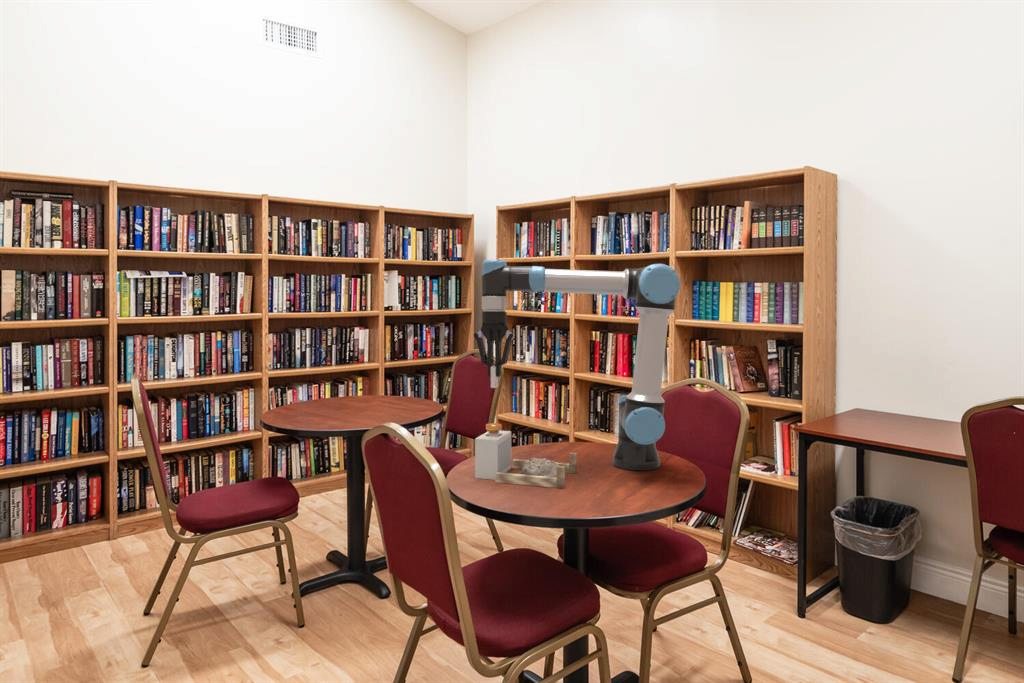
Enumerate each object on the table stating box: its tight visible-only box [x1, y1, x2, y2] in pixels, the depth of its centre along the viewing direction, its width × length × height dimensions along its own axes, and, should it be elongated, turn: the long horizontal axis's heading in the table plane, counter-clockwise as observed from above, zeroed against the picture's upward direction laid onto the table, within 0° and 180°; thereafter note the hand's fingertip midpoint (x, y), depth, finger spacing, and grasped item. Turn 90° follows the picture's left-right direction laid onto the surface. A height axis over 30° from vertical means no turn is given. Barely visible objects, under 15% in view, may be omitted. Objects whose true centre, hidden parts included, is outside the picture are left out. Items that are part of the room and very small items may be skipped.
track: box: [494, 452, 578, 489], centre depth 201 cm, size 20×19×6 cm
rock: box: [521, 457, 559, 477], centre depth 200 cm, size 11×11×6 cm
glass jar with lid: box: [485, 422, 502, 437], centre depth 205 cm, size 5×5×8 cm
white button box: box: [474, 430, 512, 481], centre depth 205 cm, size 7×14×12 cm, turn 163°
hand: (494, 387), depth 204 cm, fingers closed
